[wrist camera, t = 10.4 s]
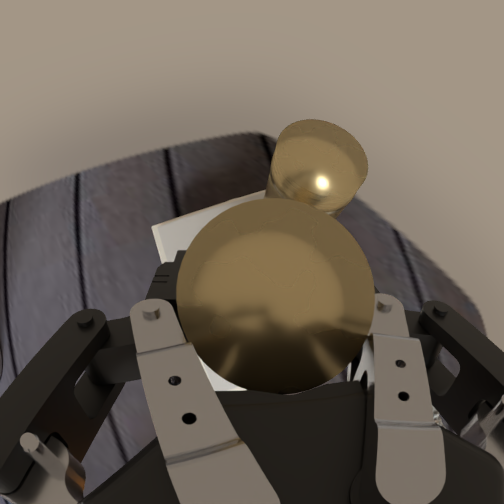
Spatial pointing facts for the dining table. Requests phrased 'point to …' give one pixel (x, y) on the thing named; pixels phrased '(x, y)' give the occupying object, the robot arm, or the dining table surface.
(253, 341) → the disc
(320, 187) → the cylinder
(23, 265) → the dining table surface
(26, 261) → the dining table surface
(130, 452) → the dining table surface
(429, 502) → the robot arm
